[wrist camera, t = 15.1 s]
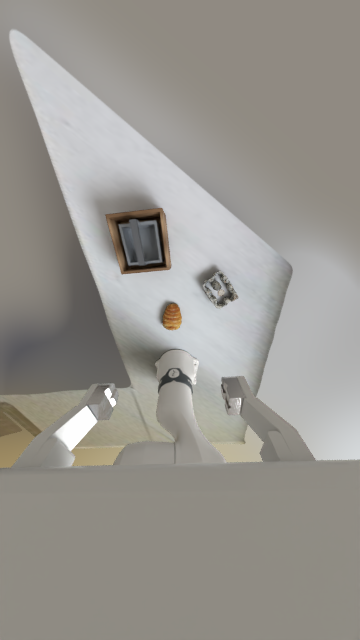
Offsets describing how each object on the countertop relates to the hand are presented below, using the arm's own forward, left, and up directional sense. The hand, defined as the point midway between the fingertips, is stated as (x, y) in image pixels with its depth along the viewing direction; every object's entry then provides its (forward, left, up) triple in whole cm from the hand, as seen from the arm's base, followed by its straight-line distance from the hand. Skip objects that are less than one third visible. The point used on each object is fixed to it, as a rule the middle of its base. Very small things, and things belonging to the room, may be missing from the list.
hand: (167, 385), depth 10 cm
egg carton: (-4, -13, -38) cm, 40 cm away
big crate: (+11, +8, -37) cm, 39 cm away
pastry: (-12, +3, -38) cm, 40 cm away
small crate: (+11, +8, -36) cm, 39 cm away
